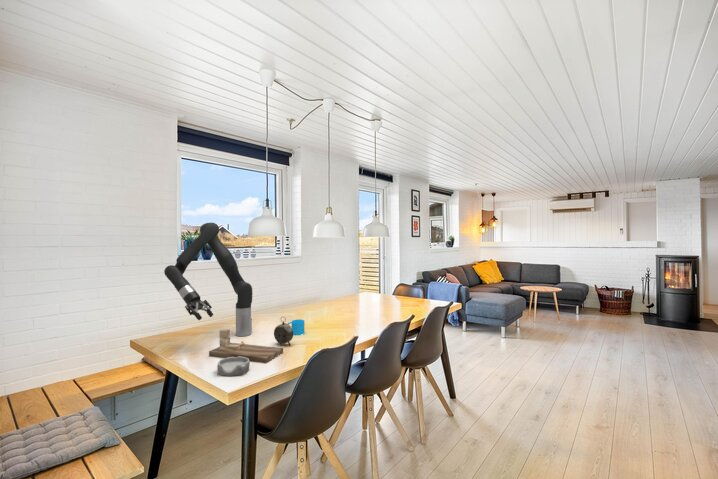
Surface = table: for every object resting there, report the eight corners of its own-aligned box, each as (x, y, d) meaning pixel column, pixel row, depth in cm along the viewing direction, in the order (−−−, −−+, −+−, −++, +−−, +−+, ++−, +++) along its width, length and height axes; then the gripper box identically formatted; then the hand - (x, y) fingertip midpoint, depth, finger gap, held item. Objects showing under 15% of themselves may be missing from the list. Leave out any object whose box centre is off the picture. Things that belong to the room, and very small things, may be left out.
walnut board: (229, 346, 195) (229, 342, 195) (283, 352, 184) (283, 348, 184) (208, 356, 179) (208, 351, 179) (266, 363, 169) (266, 358, 169)
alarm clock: (293, 345, 198) (293, 316, 198) (288, 347, 193) (288, 318, 193) (278, 342, 203) (278, 314, 203) (272, 345, 198) (272, 316, 198)
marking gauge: (232, 343, 192) (232, 325, 192) (247, 345, 189) (247, 327, 189) (219, 349, 183) (219, 330, 183) (235, 351, 180) (235, 331, 180)
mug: (305, 332, 226) (305, 319, 226) (302, 335, 218) (302, 322, 218) (287, 331, 227) (287, 319, 227) (284, 335, 219) (284, 322, 219)
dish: (249, 375, 154) (249, 364, 154) (215, 379, 151) (215, 367, 151) (249, 364, 168) (249, 353, 168) (219, 367, 164) (219, 356, 164)
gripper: (183, 292, 183) (200, 315, 179) (202, 288, 196) (219, 310, 193) (175, 301, 184) (192, 325, 181) (195, 297, 198) (211, 319, 195)
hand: (206, 317), depth 187 cm, fingers open, 8 cm apart
